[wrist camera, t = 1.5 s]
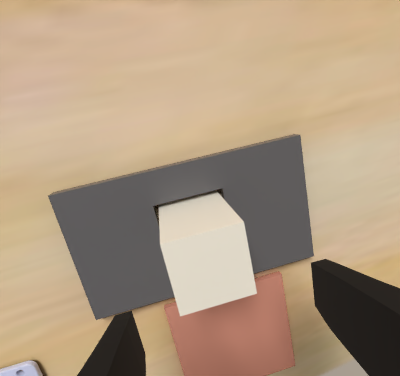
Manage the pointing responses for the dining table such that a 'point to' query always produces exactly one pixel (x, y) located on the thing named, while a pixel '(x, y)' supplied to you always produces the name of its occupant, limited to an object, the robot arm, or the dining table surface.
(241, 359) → the mat
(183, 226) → the plug
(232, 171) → the board
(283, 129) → the dining table surface
